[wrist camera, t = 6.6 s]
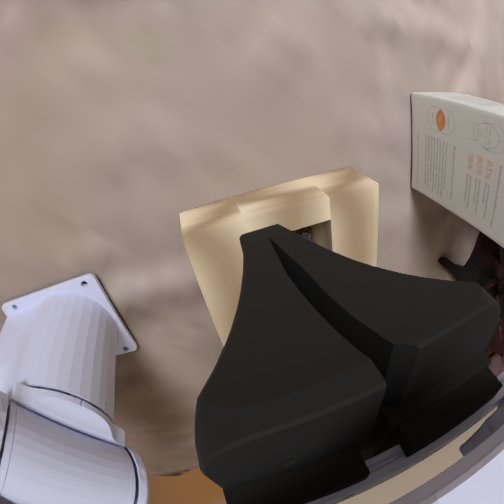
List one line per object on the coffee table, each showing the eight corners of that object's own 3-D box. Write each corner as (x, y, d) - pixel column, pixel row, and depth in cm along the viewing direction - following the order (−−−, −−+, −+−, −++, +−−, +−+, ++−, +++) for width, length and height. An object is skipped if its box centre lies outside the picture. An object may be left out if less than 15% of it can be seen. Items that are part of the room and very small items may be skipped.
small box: (456, 176, 24) (566, 246, 13) (409, 187, 23) (532, 276, 12) (459, 90, 19) (591, 137, 9) (408, 90, 19) (566, 140, 8)
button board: (250, 402, 33) (258, 428, 30) (179, 212, 19) (182, 239, 17) (347, 367, 34) (361, 389, 31) (350, 166, 21) (378, 183, 18)
